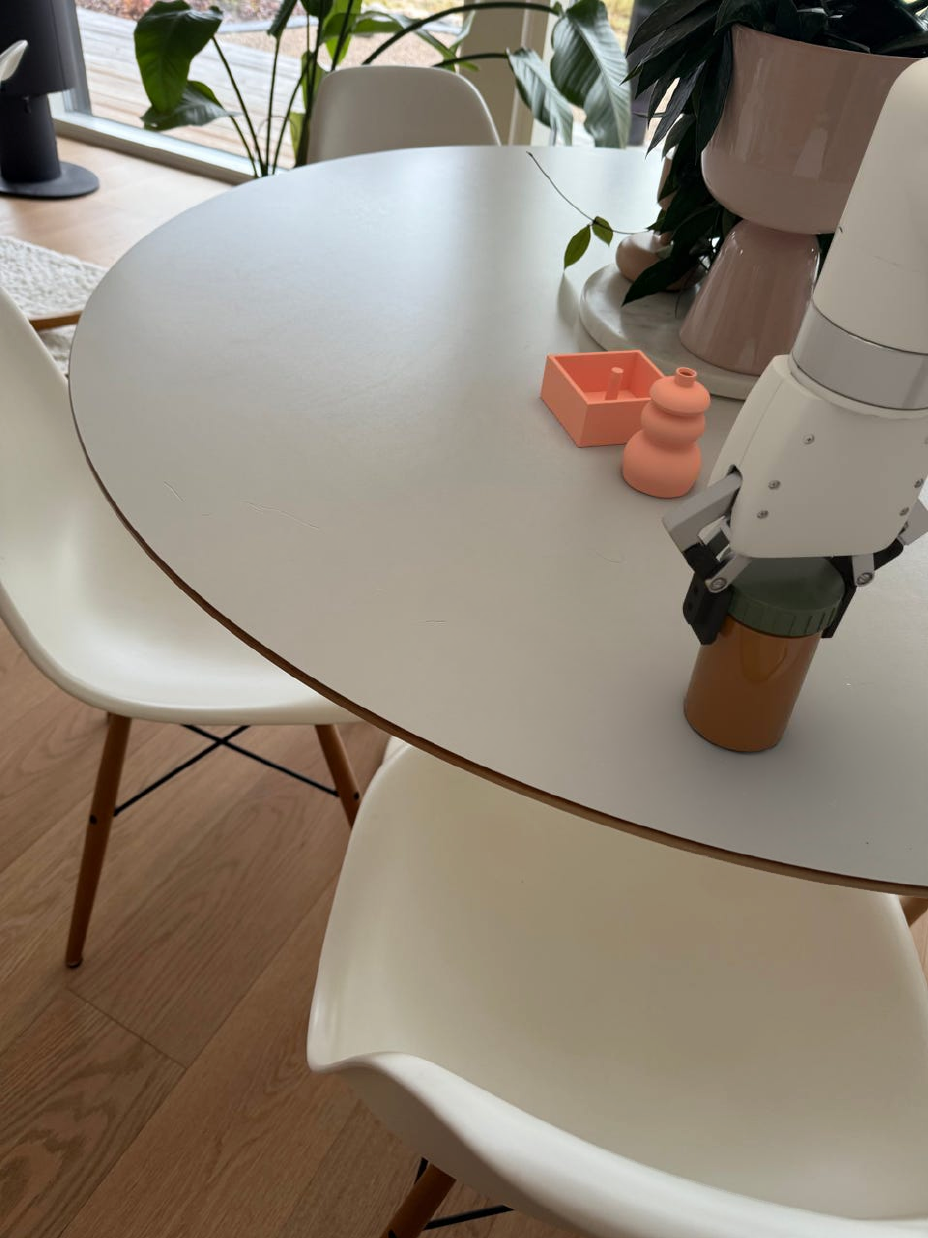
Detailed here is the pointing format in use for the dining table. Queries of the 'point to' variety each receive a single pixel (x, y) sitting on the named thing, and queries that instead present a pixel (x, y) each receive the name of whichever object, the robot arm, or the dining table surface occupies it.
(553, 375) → the pottery
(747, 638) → the jar
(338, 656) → the dining table surface
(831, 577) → the lid
